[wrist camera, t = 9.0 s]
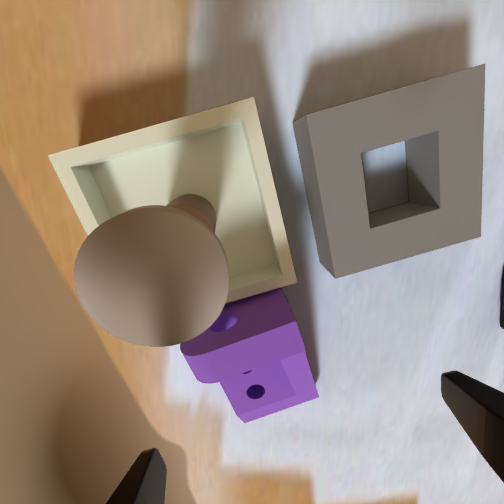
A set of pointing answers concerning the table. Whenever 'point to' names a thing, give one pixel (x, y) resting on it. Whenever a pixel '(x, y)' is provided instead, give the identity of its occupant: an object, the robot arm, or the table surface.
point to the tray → (191, 186)
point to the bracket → (254, 356)
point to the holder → (418, 171)
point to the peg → (154, 273)
